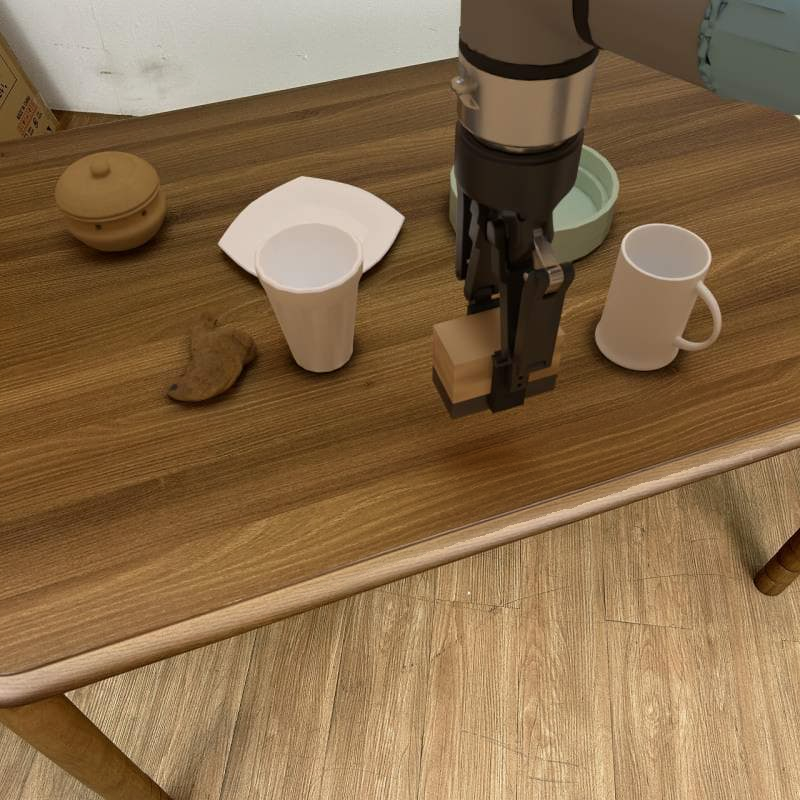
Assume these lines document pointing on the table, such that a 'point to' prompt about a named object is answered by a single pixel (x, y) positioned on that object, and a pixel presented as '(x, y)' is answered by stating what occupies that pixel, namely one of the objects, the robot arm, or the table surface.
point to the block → (477, 362)
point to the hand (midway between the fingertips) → (493, 382)
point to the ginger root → (212, 360)
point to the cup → (313, 289)
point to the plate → (313, 218)
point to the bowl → (575, 208)
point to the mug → (655, 297)
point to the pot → (111, 200)
